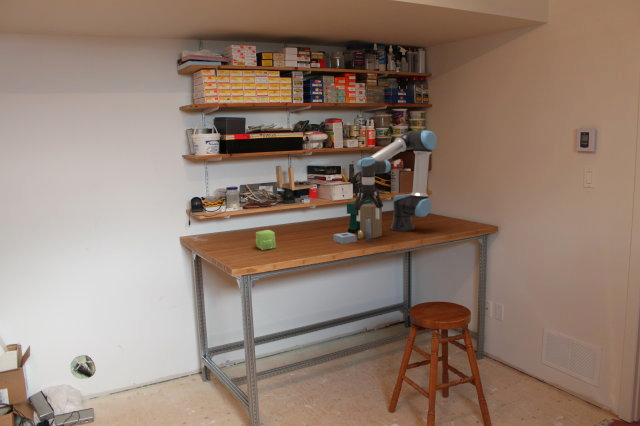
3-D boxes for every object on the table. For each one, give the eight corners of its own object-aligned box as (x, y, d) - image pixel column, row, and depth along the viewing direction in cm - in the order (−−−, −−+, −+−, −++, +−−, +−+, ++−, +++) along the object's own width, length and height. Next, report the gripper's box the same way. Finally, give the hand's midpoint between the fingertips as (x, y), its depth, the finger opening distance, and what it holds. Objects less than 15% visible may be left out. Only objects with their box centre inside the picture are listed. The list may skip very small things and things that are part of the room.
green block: (251, 246, 307) (250, 230, 306) (267, 243, 311) (266, 228, 309) (260, 251, 291) (259, 235, 289) (277, 249, 295) (276, 232, 293)
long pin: (369, 241, 311) (369, 218, 309) (372, 241, 309) (372, 218, 306) (364, 241, 310) (364, 218, 308) (367, 242, 307) (367, 219, 305)
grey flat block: (347, 238, 319) (347, 232, 318) (356, 241, 310) (356, 235, 309) (333, 240, 314) (333, 234, 313) (342, 243, 305) (342, 237, 305)
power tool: (370, 226, 358) (369, 197, 354) (379, 227, 354) (379, 197, 351) (346, 234, 332) (345, 203, 329) (355, 235, 328) (355, 204, 325)
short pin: (361, 237, 321) (361, 230, 320) (364, 238, 318) (364, 230, 317) (357, 238, 319) (357, 230, 318) (359, 239, 316) (359, 231, 315)
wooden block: (368, 234, 331) (368, 203, 328) (382, 235, 325) (382, 204, 322) (359, 236, 324) (359, 205, 320) (373, 238, 317) (373, 206, 314)
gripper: (381, 182, 313) (381, 217, 316) (346, 184, 301) (346, 220, 304) (389, 183, 306) (388, 218, 310) (353, 186, 294) (353, 222, 298)
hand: (367, 220), depth 307 cm, fingers open, 13 cm apart
